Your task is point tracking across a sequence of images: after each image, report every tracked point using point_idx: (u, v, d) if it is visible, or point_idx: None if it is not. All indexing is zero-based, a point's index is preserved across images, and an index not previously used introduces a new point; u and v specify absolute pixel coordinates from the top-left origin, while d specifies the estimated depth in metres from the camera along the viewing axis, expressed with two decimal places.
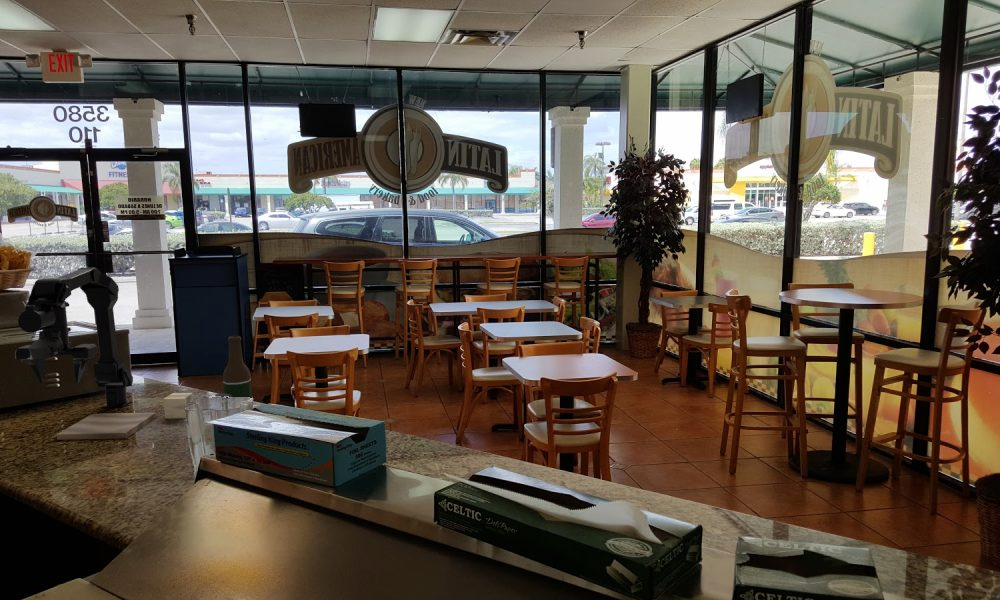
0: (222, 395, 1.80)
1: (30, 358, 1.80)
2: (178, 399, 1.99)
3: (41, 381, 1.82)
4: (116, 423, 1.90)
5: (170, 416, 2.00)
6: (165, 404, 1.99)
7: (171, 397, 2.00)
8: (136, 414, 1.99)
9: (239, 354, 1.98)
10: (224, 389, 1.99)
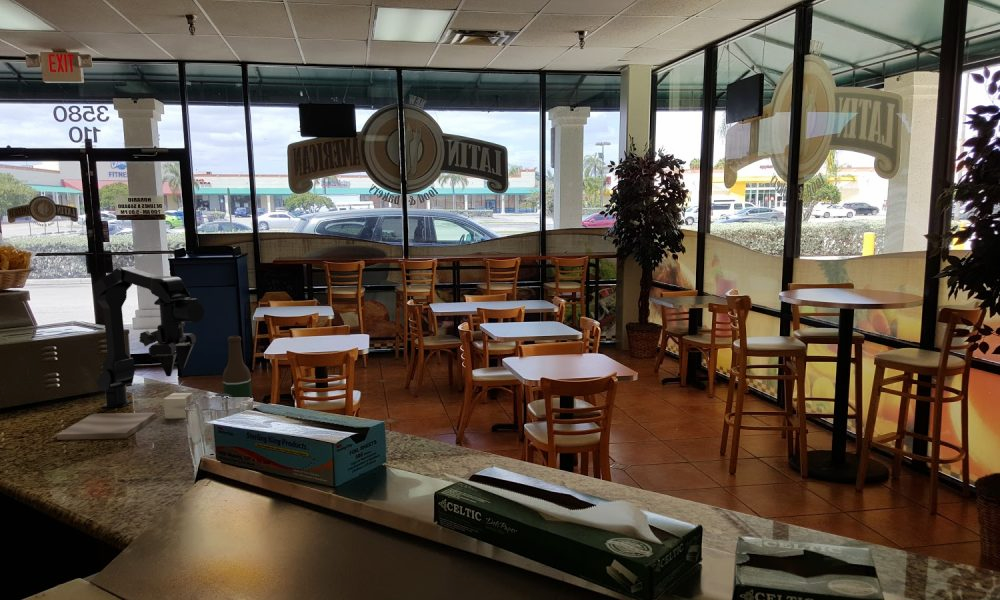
0: (222, 395, 1.80)
1: None
2: (178, 399, 1.99)
3: None
4: (116, 423, 1.90)
5: (170, 416, 2.00)
6: (165, 404, 1.99)
7: (171, 397, 2.00)
8: (136, 414, 1.99)
9: (239, 354, 1.98)
10: (224, 389, 1.98)
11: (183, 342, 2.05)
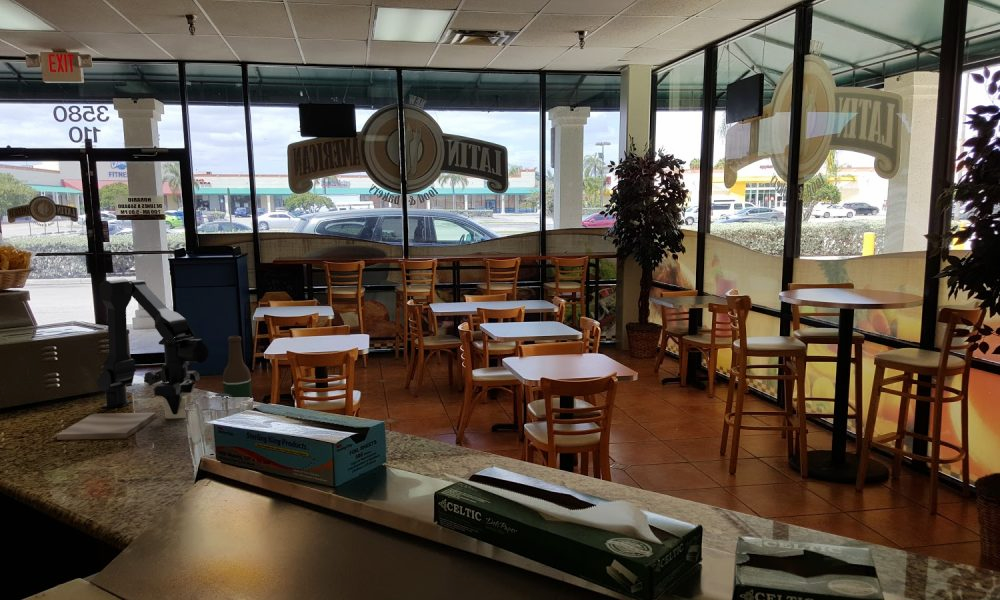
0: (222, 395, 1.80)
1: None
2: None
3: None
4: (116, 423, 1.90)
5: (170, 416, 2.00)
6: (165, 404, 1.99)
7: None
8: (136, 414, 1.99)
9: (239, 354, 1.98)
10: (224, 389, 1.99)
11: (185, 381, 2.05)
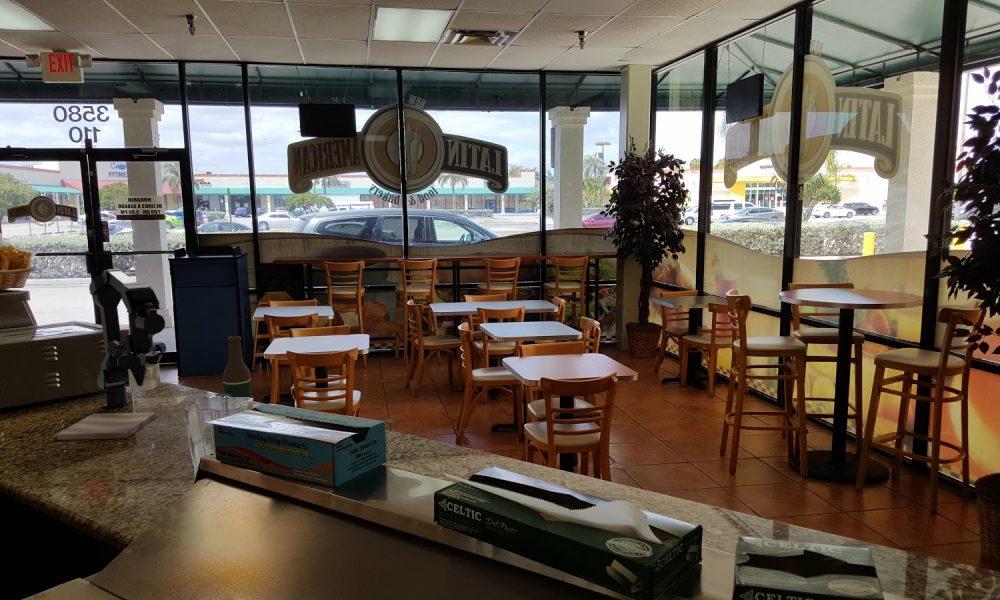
0: (222, 395, 1.80)
1: None
2: None
3: None
4: (116, 423, 1.90)
5: (135, 387, 1.93)
6: (129, 375, 1.92)
7: None
8: (136, 414, 1.99)
9: (239, 354, 1.98)
10: (224, 389, 1.98)
11: (151, 352, 1.99)
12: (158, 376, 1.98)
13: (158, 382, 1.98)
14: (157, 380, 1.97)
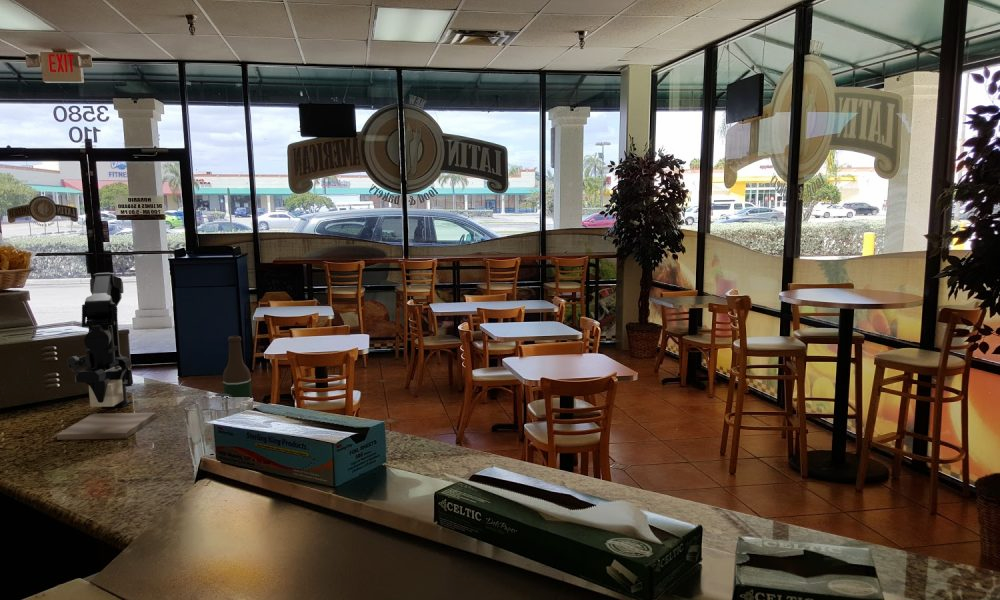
0: (222, 395, 1.80)
1: None
2: None
3: None
4: (116, 423, 1.90)
5: (96, 404, 1.87)
6: (90, 392, 1.86)
7: None
8: (136, 414, 1.99)
9: (239, 354, 1.98)
10: (224, 389, 1.98)
11: (114, 368, 1.93)
12: (121, 392, 1.92)
13: (121, 398, 1.92)
14: (119, 396, 1.91)
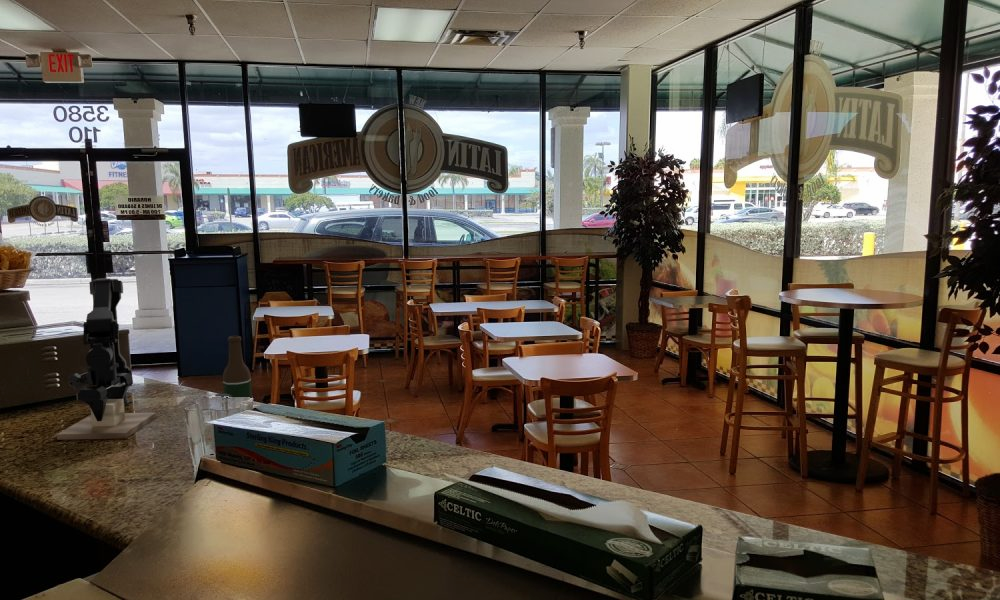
0: (222, 395, 1.80)
1: None
2: (106, 406, 1.87)
3: None
4: None
5: (97, 424, 1.88)
6: (91, 411, 1.87)
7: None
8: (136, 414, 1.99)
9: (239, 354, 1.98)
10: (224, 389, 1.98)
11: (118, 383, 1.95)
12: (122, 411, 1.93)
13: (122, 417, 1.93)
14: (121, 415, 1.92)
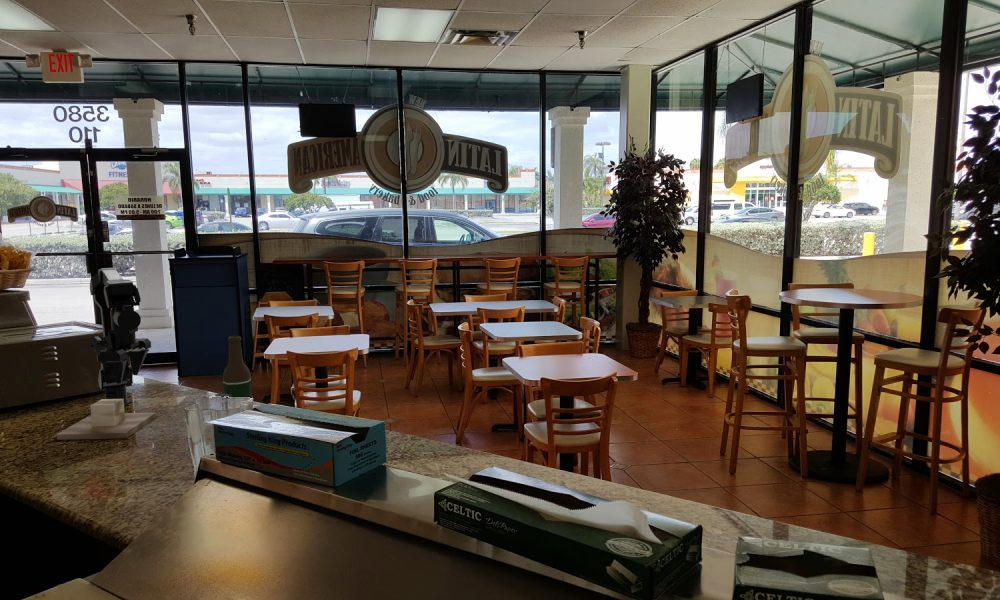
0: (222, 395, 1.80)
1: None
2: (106, 406, 1.87)
3: (133, 373, 1.98)
4: None
5: (97, 424, 1.88)
6: (91, 411, 1.87)
7: (99, 403, 1.88)
8: (136, 414, 1.99)
9: (239, 354, 1.98)
10: (224, 389, 1.98)
11: (137, 348, 1.98)
12: (122, 411, 1.93)
13: (122, 417, 1.93)
14: (121, 415, 1.92)
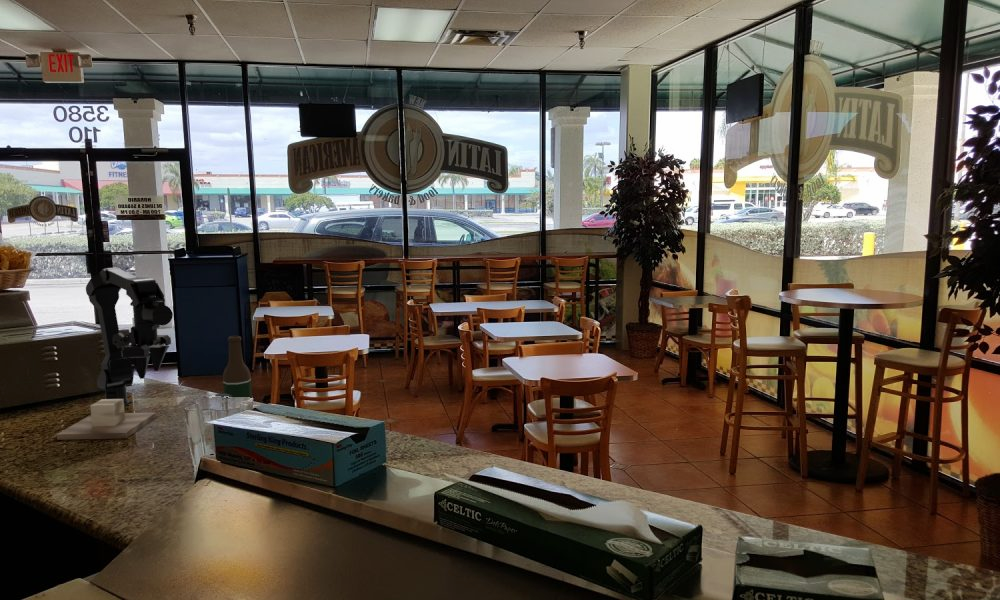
0: (222, 395, 1.80)
1: None
2: (106, 406, 1.87)
3: (154, 369, 2.03)
4: None
5: (97, 424, 1.88)
6: (91, 411, 1.87)
7: (99, 403, 1.88)
8: (136, 414, 1.99)
9: (239, 354, 1.98)
10: (224, 389, 1.98)
11: (158, 344, 2.03)
12: (122, 411, 1.93)
13: (122, 417, 1.93)
14: (121, 415, 1.92)
